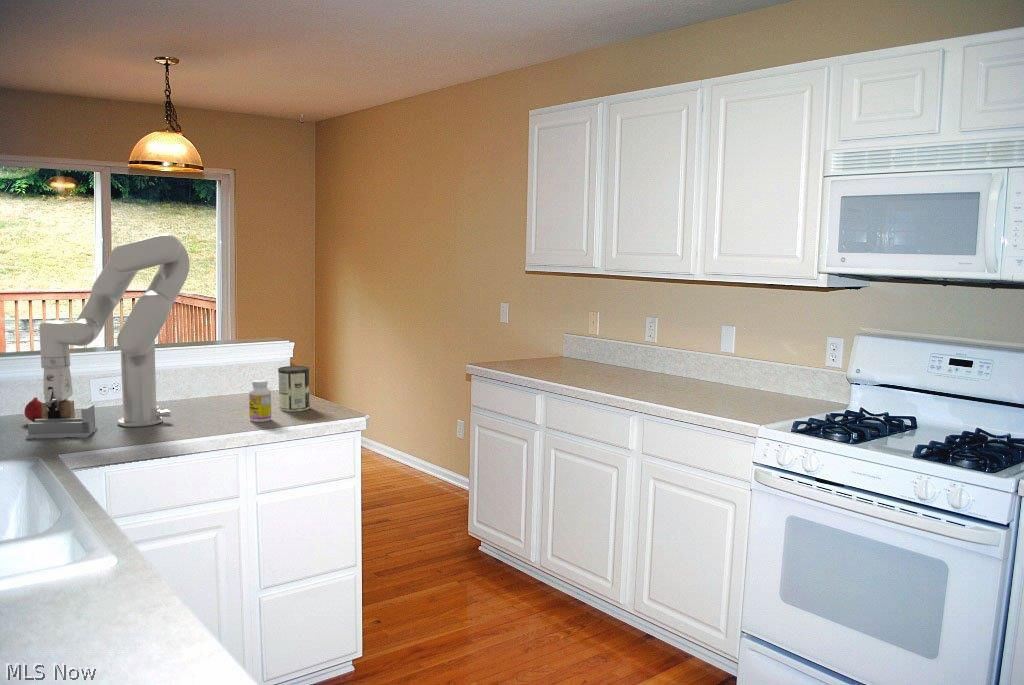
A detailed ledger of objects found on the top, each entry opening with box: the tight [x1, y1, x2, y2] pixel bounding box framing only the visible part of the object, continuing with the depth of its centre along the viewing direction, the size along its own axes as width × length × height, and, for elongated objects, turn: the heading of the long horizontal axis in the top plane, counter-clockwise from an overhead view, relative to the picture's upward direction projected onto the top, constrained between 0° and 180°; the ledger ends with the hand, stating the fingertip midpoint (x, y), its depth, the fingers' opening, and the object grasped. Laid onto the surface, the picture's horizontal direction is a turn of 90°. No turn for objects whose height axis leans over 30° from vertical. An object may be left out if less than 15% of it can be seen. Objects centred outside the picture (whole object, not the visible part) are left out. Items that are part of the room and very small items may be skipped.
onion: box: [23, 396, 42, 423], centre depth 246 cm, size 6×6×8 cm
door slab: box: [41, 399, 76, 419], centre depth 241 cm, size 8×3×8 cm, turn 100°
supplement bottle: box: [248, 379, 272, 423], centre depth 255 cm, size 7×7×13 cm
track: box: [25, 404, 98, 440], centre depth 233 cm, size 16×9×8 cm, turn 100°
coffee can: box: [277, 365, 311, 413], centre depth 273 cm, size 10×10×14 cm
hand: (58, 420), depth 241 cm, fingers open, 6 cm apart
